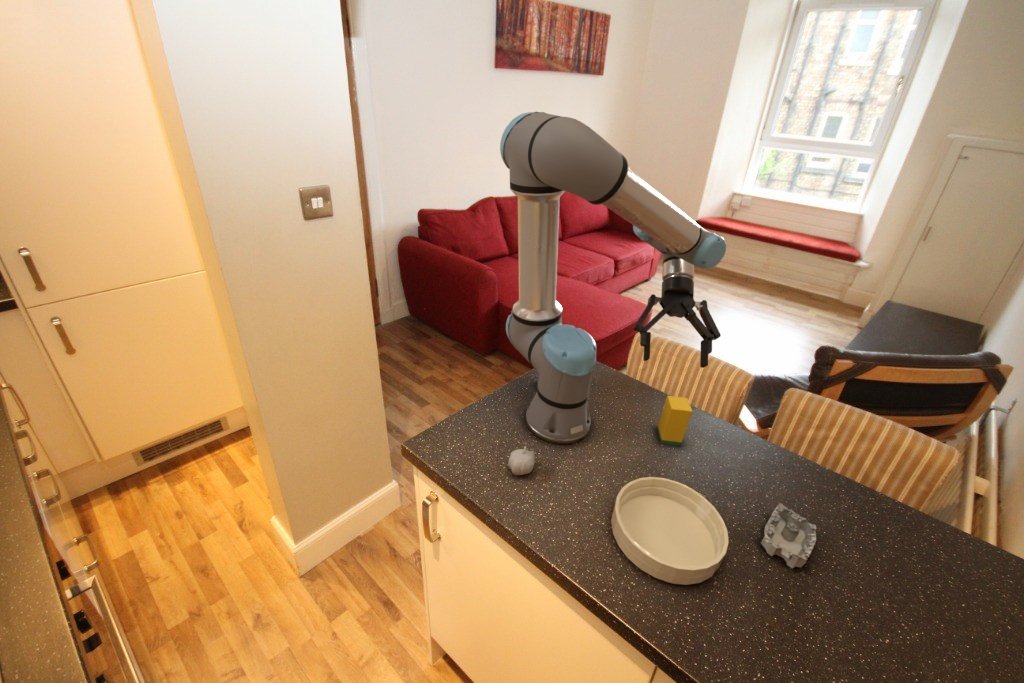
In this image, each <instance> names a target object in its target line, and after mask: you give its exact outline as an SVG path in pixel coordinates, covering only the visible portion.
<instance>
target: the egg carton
mask: <svg viewBox="0 0 1024 683" xmlns="http://www.w3.org/2000/svg"><path fill="white" fill-rule="evenodd" d="M763 531H764V532H763V534H764V536H763V539H762V540H761V542H760V544H761V546H762V547H763V548H764V550H765V551H766V554H768V555H769V556H770V557H773V556H778V557H781V558H782V559H783V560H784V561H785V562H786V566H788V567H789V568H791V569H794V568H795V567H796V568H803V566H804V565H805V564H806V563H807V560H808V558H810V556H811V554H812V551H813V549H814V546H815V545H816V542H817V532H816V531H817V525H816V524H814V523H810V522H809V521H808V520H807V518H806V517H803V516H801V515H800V514H799V513H798V512H797V513H796V512H795V511H794V510H793V509H788V507H786V506H785V505H784V504H783V503H782V502H779V503H778V504H777V506H776V507H775V508H774V510H773V512H772V513H771V514H770V516H769V518H768V521H767V522H766V524H765V526H764V529H763Z"/></svg>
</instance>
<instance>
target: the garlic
mask: <svg viewBox="0 0 1024 683" xmlns="http://www.w3.org/2000/svg"><path fill="white" fill-rule="evenodd" d="M527 447H528V446H527V445H524V446H523V448H519V449H514V450H512V451H511V452H510V456H509V458H508V462H507V465H508V468H509V469H510V470H511V473H512V474H513V475H515V476H523V475H529V474H530V473H531V472H532V471H533V469H534V466H535V464H536V461H535V459H536V455H535V453H534V452H533V451H532V450H531V451H530V450H528V449H527Z"/></svg>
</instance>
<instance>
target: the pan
mask: <svg viewBox="0 0 1024 683" xmlns="http://www.w3.org/2000/svg"><path fill="white" fill-rule="evenodd" d="M610 524H611V530H612V535H613V537H614V539H615V541H616V544H617V545H618V547H619V549H620V550H621V551H622V553H623V554H624V555H625V557H626V558H627V559H628V560H629V561H630V562H631V563H633V564H634V565H635V566H636V567H637V568H638V569H639V570H641V571H642V572H644V573H646V574H648V575H650V576H651V577H653V578H655V579H658V580H660V581H664V582H666V583H670V584H675V585H682V586H683V585H684V586H687V585H688V586H689V585H693V584H700V583H703V582H704V581H706V580H709V579H710V578H712V577H713V576H714V574H715V573H717V571H718V570H719V568H720V566H721V565H722V562H723V560H724V558H725V556H726V554H727V551H728V548H729V543H730V542H729V541H730V540H729V530H728V528H727V525H726V524H725V521H724V519H723V517H722V516H721V514H720V512H719V510H717V508H716V507H715V506H714V505H713V504H712V503H711V502H710V501H709V499H706V497H704V495H703V494H701V493H699V492H697V491H696V489H693V488H692V487H690V486H687V485H685V484H683V483H681V482H679V481H676V480H673V479H669V478H664V477H656V476H647V477H639V478H637V479H634V480H631V481H629V482H627V483H626V484H625V485H624V486H623V487H622V488H621V489H620V491H619V492H618V494H617V496H616V497H615V502H614V505H613V508H612V513H611V519H610Z"/></svg>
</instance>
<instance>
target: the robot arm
mask: <svg viewBox="0 0 1024 683" xmlns="http://www.w3.org/2000/svg"><path fill="white" fill-rule="evenodd" d="M500 138H501V139H500V142H499V144H500V145H499V152H500V157H501V159H502V162H503V163H504V165H505V167H506V168H507V169H508V170H509V190H510V191H511V192H512V193H513V194H514V195H515V196H516V197H517V237H518V238H517V245H518V246H517V248H518V250H517V252H518V255H517V256H518V258H517V260H518V300H517V301H515V303H513V306H512V310H511V313H510V314H508V316H507V319H506V322H505V333H506V337H507V338H508V340H509V342H510V344H511V345H512V347H513V348H515V350H516V351H518V352H519V354H520V355H521V356H522V357H523V358H524V359H525V360H526V361H527V362H528V363H529V364H530V365H531V366H532V367H533V368H534V370H535V371H536V372H537V374H538V379H537V381H534V382H533V383H534V386H535V388H536V392H535V394H534V396H533V398H532V399H531V402H530V404H529V405H528V407H527V409H526V412H525V424H526V427H527V428H528V430H529V431H530V432H531V433H532V435H534V436H535V437H536V438H538V439H540V440H542V441H544V442H547V443H551V444H555V445H571V444H576V443H578V442H580V441H583V440H584V439H585V438H586V437H587V436H588V434H589V432H590V430H591V424H592V423H591V422H592V421H591V419H592V418H591V412H590V408H589V407H590V406H589V403H588V402H589V401H588V398H589V394H590V389H591V384H592V381H593V375H594V371H595V367H596V364H597V351H598V350H597V343H596V341H595V338H593V336H592V335H591V334H590V333H589V332H587V331H586V330H584V329H583V328H580V327H576V326H575V325H572V324H563V320H562V319H563V307H562V304H561V303H560V302H559V301H558V300H557V283H558V282H557V281H558V255H559V226H560V200H561V196H563V194H565V193H566V192H567V193H568V194H569V193H570V194H572V195H575V196H577V197H580V198H582V199H583V200H585V201H587V202H588V203H590V204H591V205H594V206H601V205H603V206H605V208H607V209H609V210H610V211H611V212H613V213H615V214H616V215H618V216H619V217H620V218H622V219H624V220H625V221H627V222H628V223H630V224H631V225H632V229H633V230H632V231H633V233H634V234H635V236H637V238H639V239H640V240H641V241H643V242H644V243H645V244H648V245H649V246H651V247H652V248H654V249H655V250H656V251H658V252H659V253H661V254H662V273H661V276H662V277H661V279H662V282H661V297H660V296H656V294H654V293H653V294H651V295H650V296H649V297H648V299H647V304H646V306H645V308H644V310H643V311H642V313H641V314H640V316H639V317H638V319H637V321H636V323H634V326H633V327H632V330H633V331H634V332H638V333H639V335H640V338H639V345H640V347H643V360H642V361H644V362H647V361H649V360H650V359H651V358H650V356H651V340H652V339H651V336H652V332H650V331H649V330H650V329H651V328H652V327H653V326H654V325H656V324H657V323H658V322H659V321H660V320H661V319H662V318H663V317H664V316H665V315H667V316H668V317H671V318H674V317H676V318H680V319H682V318H684V319H685V320H686V321H688V322H689V323H690V324H691V326H692V327H693V329H694V330H695V331H696V332H697V333H698V334H699V336H700V337H701V339H702V340H701V341H700V365H699V366H700V368H702V369H704V368H706V367H708V366H709V355H710V354H711V353H712V352H713V341H715V340H717V339H719V338H720V337H721V336H722V335H721V333H720V332H721V331H719V329H718V326H717V325H716V323H715V321H714V318H713V317H712V315H711V312H710V310H709V309H708V301H707V300H706V299H703V300H701V301H696V300H695V298H694V295H695V282H694V280H695V267H696V268H700V269H703V270H711V269H713V268H715V267H717V266H718V265H719V264H720V263H721V261H722V260H723V258H724V257H725V254H726V251H727V241H726V239H725V238H724V237H722V236H720V235H718V234H717V233H715V232H711V231H709V230H707V229H705V228H704V227H702V226H701V225H700V224H699V223H697V222H696V221H695V220H694V219H693V218H691V217H690V216H689V215H687V214H686V213H685V212H684V211H682V210H681V209H680V208H679V207H678V206H676V205H675V204H674V203H673V202H672V201H670V200H669V199H668V198H666V196H664V195H663V194H661V193H660V192H659V191H658V190H656V189H655V188H654V187H653V186H652V185H650V184H649V183H648V182H647V181H645V180H644V179H643V178H642V177H640V176H639V175H638V174H637V173H636V172H634V171H633V170H632V169H631V168H630V167H629V161H628V159H627V157H626V156H625V155H624V154H622V153H621V152H620V151H618V150H617V149H616V148H615V147H614V146H613V145H612V144H611V143H609V142H608V141H607V140H606V139H604V137H602V136H601V135H600V134H599V133H597V132H596V131H595V130H593V129H592V128H591V127H589V125H587V124H586V123H584V122H582V121H580V120H579V119H576V118H574V117H569V116H562V115H556V114H552V113H547V112H544V111H528V112H524V113H520V114H519V115H517V116H515V117H514V118H512V119H511V120H510V122H509V123H508V124H507V125H506V127H505V129H504V130H503V132H502V135H501V137H500ZM658 303H659V305H660V307H661V308H662V309H661V310H660V311H659V312H658V313H657V314H656V315H655V316H654V317H653V318H652V319H651V320H650V321H648V322H647V324H646V325H643V324H644V322H645V320H646V318H647V317H648V315H649V314H650V313H651V311H652V309H653V307H655V306H656V305H657V304H658ZM694 308H696V311H698V313H699V316H700V318H701V319H700V318H699V317H698V316H697V313H696V311H694Z"/></svg>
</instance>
